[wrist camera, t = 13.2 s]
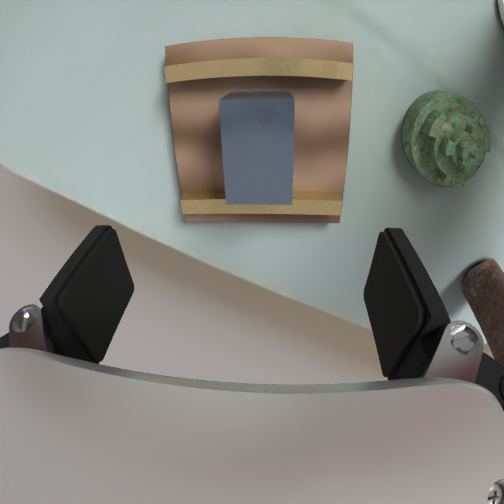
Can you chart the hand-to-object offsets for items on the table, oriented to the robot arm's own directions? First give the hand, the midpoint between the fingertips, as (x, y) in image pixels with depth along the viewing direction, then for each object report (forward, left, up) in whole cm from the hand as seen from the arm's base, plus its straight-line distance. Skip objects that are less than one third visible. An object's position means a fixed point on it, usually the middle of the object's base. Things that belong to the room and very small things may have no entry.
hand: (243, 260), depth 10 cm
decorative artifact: (-1, +19, -21) cm, 28 cm away
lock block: (0, 0, -18) cm, 18 cm away
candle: (+18, +33, -20) cm, 43 cm away
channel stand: (0, 0, -20) cm, 20 cm away
